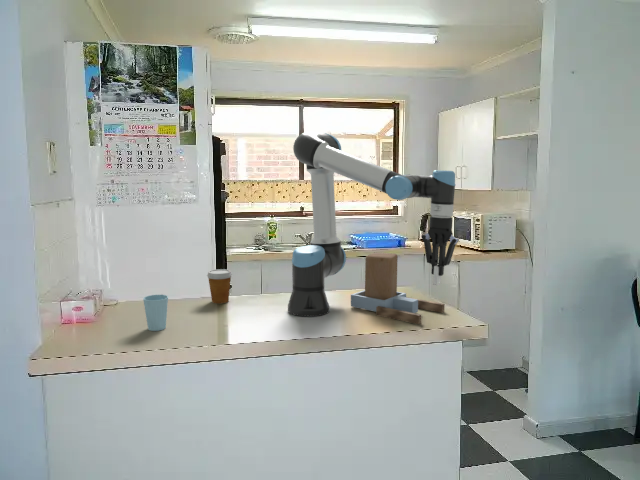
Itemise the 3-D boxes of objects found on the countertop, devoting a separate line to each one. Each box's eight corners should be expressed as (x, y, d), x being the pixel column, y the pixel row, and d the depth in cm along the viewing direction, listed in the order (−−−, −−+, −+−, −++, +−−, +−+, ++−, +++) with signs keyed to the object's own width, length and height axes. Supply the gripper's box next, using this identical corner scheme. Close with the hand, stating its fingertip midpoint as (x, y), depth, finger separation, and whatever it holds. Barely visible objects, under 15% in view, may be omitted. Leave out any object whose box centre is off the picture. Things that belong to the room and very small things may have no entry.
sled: (350, 306, 194) (350, 294, 193) (372, 298, 206) (372, 287, 205) (404, 317, 180) (404, 305, 179) (425, 308, 191) (425, 296, 191)
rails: (376, 315, 185) (376, 306, 184) (403, 303, 199) (403, 296, 199) (418, 324, 174) (419, 315, 174) (444, 311, 189) (444, 303, 188)
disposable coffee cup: (230, 304, 197) (229, 274, 196) (205, 304, 198) (204, 273, 196) (234, 298, 207) (233, 269, 205) (210, 298, 207) (209, 268, 205)
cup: (166, 332, 165) (164, 300, 164) (141, 332, 165) (140, 300, 164) (171, 324, 173) (170, 294, 172) (148, 325, 173) (146, 294, 171)
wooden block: (389, 311, 189) (391, 257, 186) (363, 308, 193) (364, 255, 190) (397, 305, 198) (398, 253, 195) (371, 302, 202) (372, 251, 199)
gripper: (418, 215, 176) (414, 282, 180) (454, 219, 168) (449, 289, 172) (429, 213, 182) (424, 279, 186) (464, 217, 174) (459, 285, 178)
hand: (436, 284), depth 179 cm, fingers closed
